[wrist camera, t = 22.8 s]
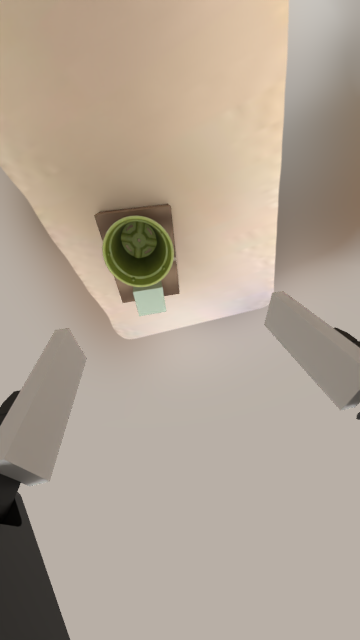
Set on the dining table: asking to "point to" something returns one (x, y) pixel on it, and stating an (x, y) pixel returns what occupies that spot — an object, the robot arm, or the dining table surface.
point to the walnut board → (155, 213)
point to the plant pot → (138, 251)
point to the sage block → (149, 299)
